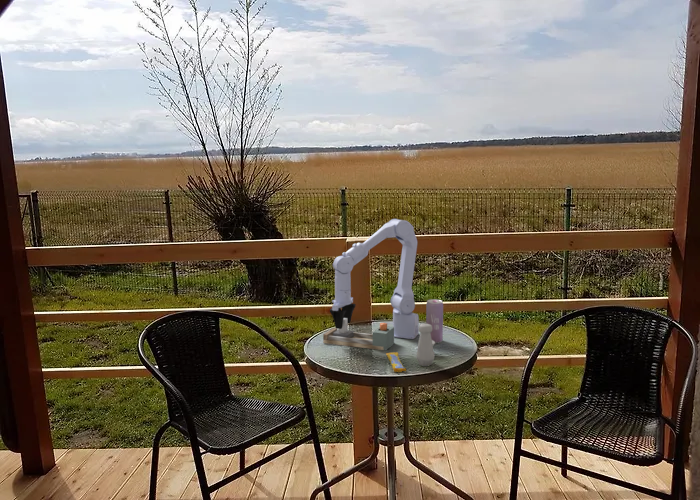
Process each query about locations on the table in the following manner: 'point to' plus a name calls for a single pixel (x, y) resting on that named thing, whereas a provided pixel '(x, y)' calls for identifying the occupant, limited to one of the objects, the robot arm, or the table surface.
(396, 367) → the candy bar
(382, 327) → the button
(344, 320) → the carriage
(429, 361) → the salt shaker
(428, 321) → the beverage can
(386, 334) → the end cabinet
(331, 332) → the rail track
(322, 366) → the table surface
